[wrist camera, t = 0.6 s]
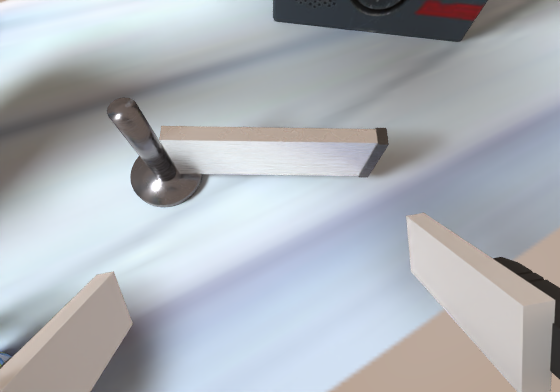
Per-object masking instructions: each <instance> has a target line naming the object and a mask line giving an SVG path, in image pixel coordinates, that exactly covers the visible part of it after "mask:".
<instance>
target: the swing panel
mask: <svg viewBox="0 0 560 392" xmlns="http://www.w3.org/2000/svg"><path fill="white" fill-rule="evenodd" d="M159 140H160V142H161V144H162V145H163V147H164V149H165V150H166V152H167V154H168V155H169V157H170V158H171V160H172V162H173V163H174V165H175V167H176V168H177V170H178V172H179V173H180V174H241V175H323V176H359V177H368V176H369V174H370V173H371V171H372V170H373V168H374V167H375V165H376V164H377V162H378V160H379V159H380V157H381V156H382V154H383V153H384V151H385V150H386V148H387V146H388V145H389V143H388V136H387V129H386V128H375V129H327V128H260V127H193V126H161V132H160V138H159Z"/></svg>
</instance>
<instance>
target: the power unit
mask: <svg viewBox="0 0 560 392" xmlns="http://www.w3.org/2000/svg"><path fill="white" fill-rule="evenodd" d="M487 1H488V0H273V18H274V20H275V21H278V22H287V23H296V24H305V25H314V26H323V27H332V28H341V29H350V30H358V31H367V32H376V33H385V34H394V35H403V36H412V37H421V38H430V39H439V40H448V41H457V42H458V41H461V40H462V38H463V37H464V35H465V34H466V32H467V31H468V29H469V28H470V26H471V25H472V23H473V22H474V20H475V19H476V17H477V16H478V14H479V13H480V11H481V10H482V8H483V7H484V5H485V4H486V2H487Z"/></svg>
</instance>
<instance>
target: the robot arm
mask: <svg viewBox="0 0 560 392" xmlns="http://www.w3.org/2000/svg"><path fill="white" fill-rule="evenodd" d="M406 218H407V230H408V242H409V253H410V265H411V272H412V273H413V274H414V276H415V277H416V278H417V279H418V280H419V281H420V282H421V283H422V285H423V286H424V287H425V288H426V289H427V290H428V291H429V293H430V294H431V295H432V296H433V297H434V298H435V299H436V300H437V302H438V303H439V304H440V305H441V306H442V307H443V308H444V309H445V311H446V312H447V313H448V314H449V315H450V316H451V317H452V318H453V320H454V321H455V322H456V323H457V324H458V325H459V326H460V328H461V329H462V330H463V331H464V332H465V333H466V334H467V335H468V336H469V338H470V339H471V340H472V341H473V342H474V343H475V345H476V346H477V347H478V348H479V349H480V350H481V351H482V352H483V354H484V355H485V356H486V357H487V358H488V359H489V360H490V361H491V363H492V364H493V365H494V366H495V367H496V368H497V369H498V371H499V372H500V373H501V374H502V375H503V376H504V377H505V378H506V380H507V381H508V382H509V383H510V384H511V385H512V386H513V387H514V389H515V390H516V391H517V392H549V391H551V374H552V373H553V374H554V375H555V376H556V377H558V378H559V379H560V288H559V287H557V286H556V285H554V284H552V283H551V282H549V281H548V280H544V279H543V277H541V276H539V275H538V274H536V273H533V272H532V271H531V270H529V269H528V268H526V267H525V266H523V265H521V264H520V263H518V262H515V261H512V260H509V259H506V258H503V257H498V258H493V259H492V258H491V257H489V256H488V255H486V254H485V253H483V252H482V251H480V250H479V249H477V248H476V247H474V246H473V245H471V244H470V243H468V242H467V241H465V240H464V239H462V238H461V237H459V236H458V235H456V234H455V233H453V232H452V231H450V230H449V229H447V228H446V227H444V226H443V225H441V224H440V223H438V222H437V221H435V220H434V219H432V218H431V217H429V216H428V215H426V214H425V213H420V214H414V215H409V216H406ZM132 324H133V323H132V320H131V317H130V315H129V312H128V309H127V307H126V304H125V301H124V298H123V296H122V293H121V290H120V287H119V285H118V282H117V279H116V276H115V274H114V272H109V273H104V274H98V275H96V276H95V277H94V278H93V279H92V280H91V281H90V282H89V283H88V284H87V285H86V286H85V287H84V288H83V289H82V290H81V291H80V292H79V293H78V294H77V295H76V296H75V297H74V298H73V299H72V300H71V301H69V302H68V303H67V304H66V305H65V306H64V307H63V308H62V309H61V310H60V311H59V312H58V313H57V314H56V315H55V316H54V317H53V318H52V319H51V320H50V321H49V322H48V323H47V324H46V325H45V326H44V327H43V328H42V329H41V330H40V331H39V332H38V333H37V334H36V335H35V336H34V337H33V338H32V339H30V340H29V341H28V342H27V343H26V344H25V345H24V346H23V347H22V348H21V349H20V350H19V351H18V352H17V353H16V354H15V355H13V356H12V357H10V358H9V359H8V360H7V361H6V362H4V363H3V364H2V365H1V366H0V392H91V390H92V389H93V387H94V385H95V384H96V382H97V381H98V379H99V377H100V376H101V374H102V373H103V371H104V369H105V368H106V366H107V365H108V363H109V361H110V360H111V358H112V357H113V355H114V353H115V352H116V350H117V349H118V347H119V345H120V344H121V342H122V340H123V339H124V337H125V336H126V334H127V332H128V331H129V329H130V328H131V326H132Z"/></svg>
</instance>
